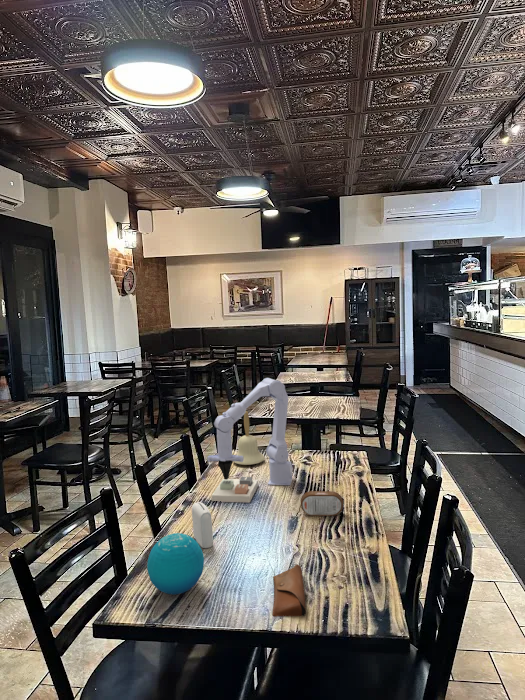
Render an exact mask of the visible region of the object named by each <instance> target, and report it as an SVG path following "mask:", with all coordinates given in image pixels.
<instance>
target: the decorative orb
mask: <svg viewBox="0 0 525 700" xmlns="http://www.w3.org/2000/svg"><path fill="white" fill-rule="evenodd" d="M146 564H147V565H146V569H147V574H148V577H149V579H150V582H151V583H152V585H153V586H154V587H155V588H156V589H157V590H159V591H160V592H161V593H163V594H166V595H181V594H184V593H186V592H188V591H190V590H191V589H192V588H193V587H195V585H197V583H198V582H199V580H200V578H201V576H202V575H203V571H204V567H205V565H204V564H205V557H204V552H203V550H202V547H201V546H200V545H199V543H198V542H197V541H196V539H195V538H193V537H192V536H190V535H188V534H186V533H178V532H175V533H170V534H167V535H165V536H163V537H161V538H160V539H159V540H158V541H157V542H156V543H155V544H154V546H152V548H151V549H150V552H149V555H148V558H147V563H146Z"/></svg>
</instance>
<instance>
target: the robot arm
mask: <svg viewBox="0 0 525 700" xmlns="http://www.w3.org/2000/svg"><path fill="white" fill-rule="evenodd" d="M262 397H271V398H272V399H273V400H274V413H273V423H272V434H271V435H272V436H271V437H270V439H269V441H268V445H267V447H266V448H265V449H266V450H265V453H266V455H267V456H268V459H269V460H268V465H269V466H268V467H269V480H268V482H267V485H268V486H291V485H292V481H293V466H292V461H289V460H288V459H289V451H288V444H287V441H286V430H287V429H286V427H287V416H288V406H289V396H288V394H287V390H286V386H285V384H284V383H283V382H281V380H278V379H277V380H276V379H273V378H270V377H265V378H263V380H262V381H260V382H258V383H257V385H256V386H255V387H254V388H253V389H252V390H251V391H250V392H249V394H247V395H246V396H245V397H244V398H243V399H242V401H240V402H235V403H232V404H231V405H230V407H229V408H228V409H227V410H225V411H224V412H222V413H221V414H222V415H218V416H217V417H216V418H215V420H214V422H213V425H214V428H216V442H217V443H216V444H217V454H214V455H213V454H211V455H208V456H207V457H206V458H207V462H209V463H210V462H218V463H217V465H218V467H219V469H220V471H221V474H222V476H223V479H225V480H228V479H230V478H229V477H230V473H231V472H230V471H231V468H232V464H233V463H234V462H233V461H240V462H243V461H244V457H243V456H238V455H236V454H233V443H232V441H233V440H232V429H233V427H234V424H236V422H238V421H239V420H240V419H241V418H242V417H244V414H245V413H246V410H247V409H248V407H250V406H252V404H254V403H255V402H256V401H258V400H259V399H261V398H262Z"/></svg>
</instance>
